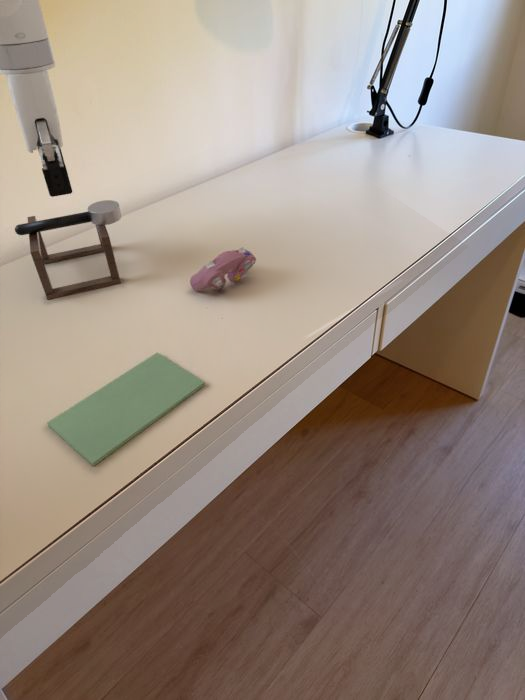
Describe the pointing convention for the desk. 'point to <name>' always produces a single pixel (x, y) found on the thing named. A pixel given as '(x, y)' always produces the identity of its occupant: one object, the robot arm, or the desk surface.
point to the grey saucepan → (76, 218)
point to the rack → (43, 258)
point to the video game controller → (223, 269)
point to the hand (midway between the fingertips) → (58, 183)
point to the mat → (124, 407)
